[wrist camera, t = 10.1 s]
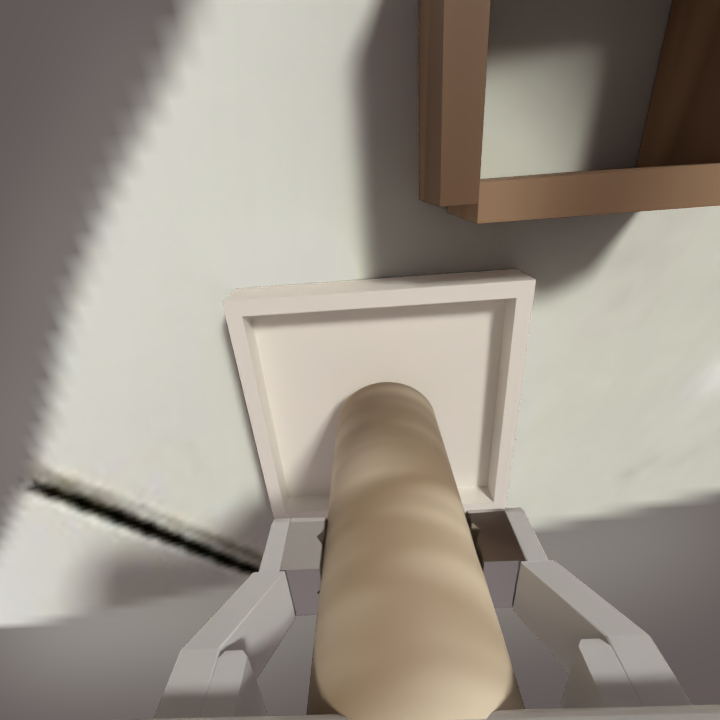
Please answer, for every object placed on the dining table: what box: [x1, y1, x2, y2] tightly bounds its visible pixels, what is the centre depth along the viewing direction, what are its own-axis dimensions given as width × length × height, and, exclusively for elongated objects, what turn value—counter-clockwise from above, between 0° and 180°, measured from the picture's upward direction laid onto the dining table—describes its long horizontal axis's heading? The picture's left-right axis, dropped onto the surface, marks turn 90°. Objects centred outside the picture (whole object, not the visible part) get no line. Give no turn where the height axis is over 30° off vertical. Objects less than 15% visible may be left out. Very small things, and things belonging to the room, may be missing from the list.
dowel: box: [306, 382, 525, 720], centre depth 11 cm, size 4×4×10 cm
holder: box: [419, 0, 720, 224], centre depth 10 cm, size 8×8×4 cm
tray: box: [222, 269, 536, 519], centre depth 16 cm, size 11×11×2 cm
